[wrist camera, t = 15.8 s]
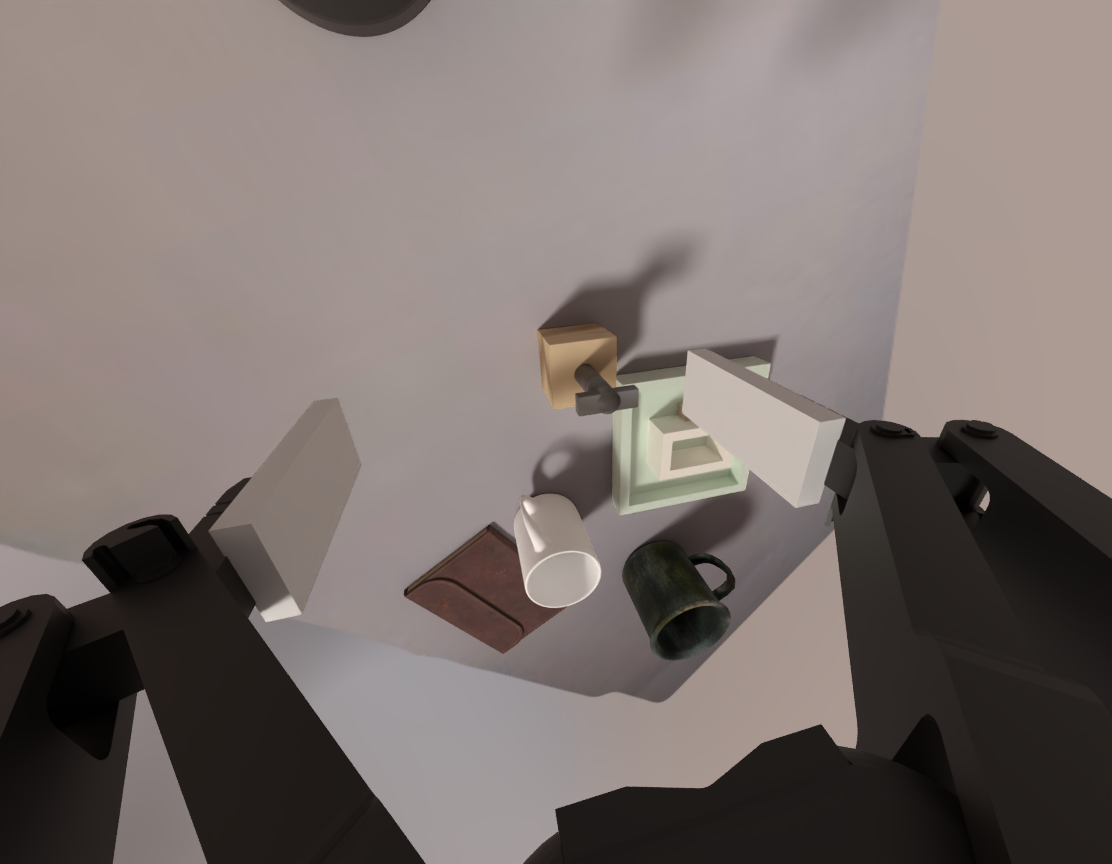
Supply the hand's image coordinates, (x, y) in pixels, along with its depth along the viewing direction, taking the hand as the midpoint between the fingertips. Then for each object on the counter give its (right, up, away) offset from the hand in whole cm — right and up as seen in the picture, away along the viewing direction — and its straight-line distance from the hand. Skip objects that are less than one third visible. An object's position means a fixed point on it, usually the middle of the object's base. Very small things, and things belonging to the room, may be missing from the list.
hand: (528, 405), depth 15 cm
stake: (+2, +7, +28) cm, 29 cm away
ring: (+17, -1, +35) cm, 39 cm away
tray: (+17, -1, +36) cm, 39 cm away
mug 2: (+17, -20, +46) cm, 53 cm away
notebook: (-8, -24, +42) cm, 49 cm away
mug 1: (-1, -11, +37) cm, 38 cm away
